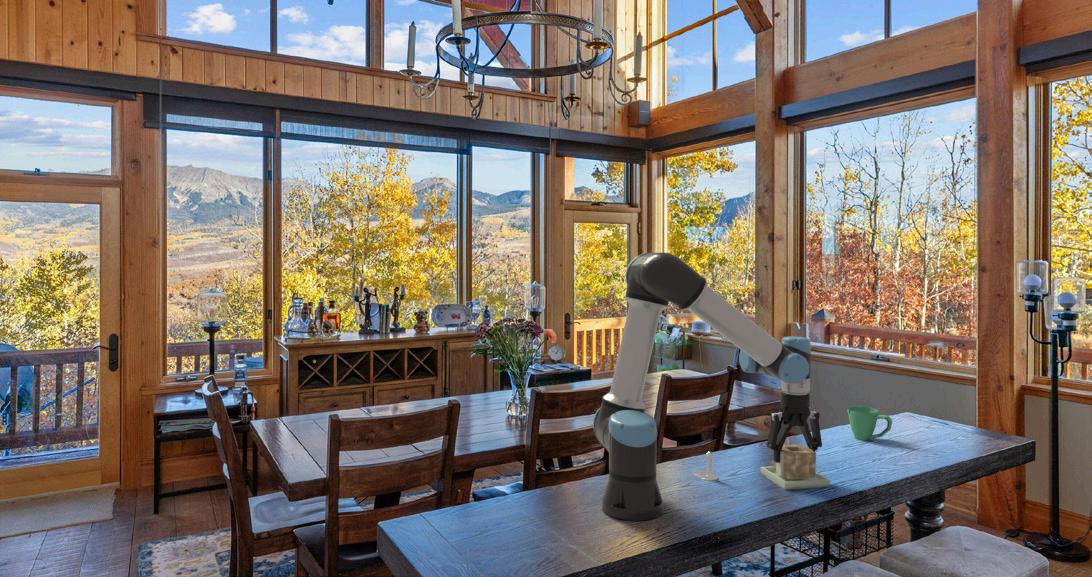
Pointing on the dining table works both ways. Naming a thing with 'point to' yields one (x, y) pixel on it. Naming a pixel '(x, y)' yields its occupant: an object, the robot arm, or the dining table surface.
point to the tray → (794, 480)
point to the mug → (866, 422)
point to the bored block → (798, 462)
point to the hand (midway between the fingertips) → (794, 472)
